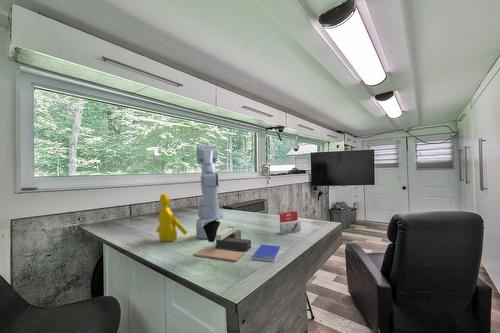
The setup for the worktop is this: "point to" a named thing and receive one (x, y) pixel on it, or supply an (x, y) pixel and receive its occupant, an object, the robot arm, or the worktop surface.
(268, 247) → the hard drive
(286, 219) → the ink cartridge box
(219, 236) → the strap
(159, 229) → the figure statuette
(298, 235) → the worktop surface
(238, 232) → the block
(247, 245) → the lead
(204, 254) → the mat
